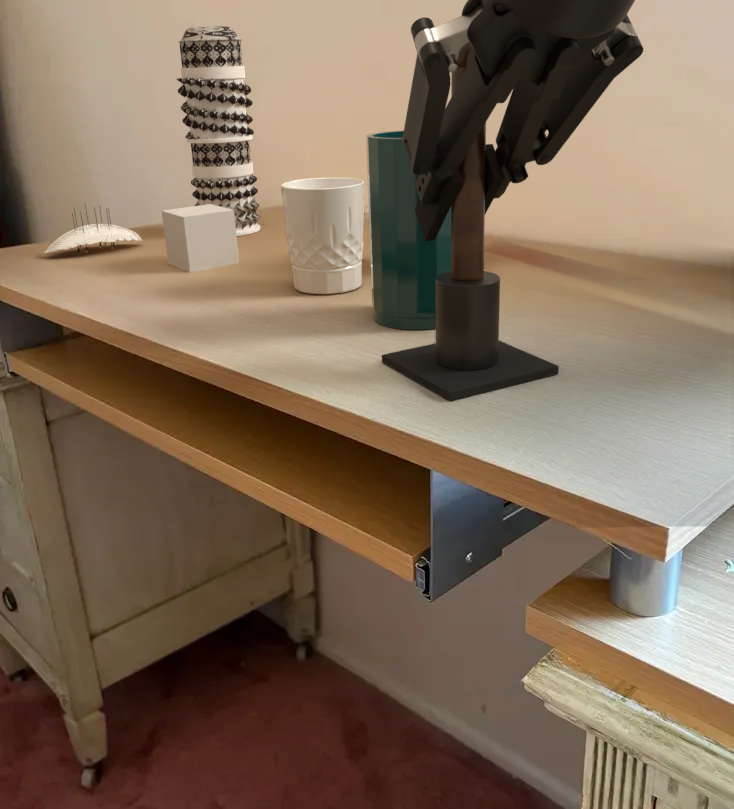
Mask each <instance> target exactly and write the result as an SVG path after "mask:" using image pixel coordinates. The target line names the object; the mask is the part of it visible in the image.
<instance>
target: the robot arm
mask: <svg viewBox="0 0 734 809" xmlns="http://www.w3.org/2000/svg"><path fill="white" fill-rule="evenodd" d="M635 1H636V0H467V1H466V2H465V4H464V6H463V7H462V10H461V16H458V17H455V18H454V19H450V20H448V21H445V22H444V23H440V24H439V25H436V26H435V24H434V21H433V19H431V18H429V17H426V16H424V17H420V18H418V19H416V20H415V21H414V22H413V23H412V24H411V27H410V33H411V36H412V39H413V43H414V46H415V50H416V58H415V65H414V70H413V75H412V82H411V87H410V93H409V99H408V104H407V108H406V116H405V120H404V121H405V122H404V128H403V130H404V132H403V138H402V140H403V144H404V147H405V150H406V153H407V156H408V159H409V162H410V165H411V168H412V171H413V173H414V174H415V175H419V176H418V179H417V181H416V188H417V191H418V194H419V197H420V198H419V200H418V203H417V205H416V207H415V212H416V215H417V219H418V222H419V225H420V228H421V231H422V234H423V237H424V240H425V241H433V240H435V239H436V237H437V235H438V233H439V230H440V228H441V226H442V224H443V222H444V220H445V218H446V216H447V213H448V211H449V209H450V207H451V205H452V203H453V201H454V199H455V196H456V194H457V192H458V190H459V188H460V186H461V184H462V182H463V180H462V177H461V174H460V171H459V168H458V167H459V166H460V164H461V162H462V161H463V159H464V157H465V156H466V154H467V152H468V151H469V149H470V147H471V146H472V144H473V142H474V141H475V139H476V138H477V136H478V134H479V133H480V131H481V129H482V128H483V126H484V124H485V123H486V124H487V121H488V119H489V118H490V116H491V115H492V113H493V111H494V110H495V108H496V106H497V104H504V103H505V102H506V101H507V100H508V98H509V100H508V103H507V106H506V109H505V112H504V115H503V117H502V120H501V123H500V126H499V129H498V132H497V135H496V138H495V143H496V144H495V145H496V149H495V147H494V146H495V145H494V144H493V143H486V163H485V215H486V214H487V212H488V210H489V208H490V206H491V204H492V203H493V201H494V200H495V199H500V198H501V197H503V195H504V194H505V192H507V189H508V188H509V185H510V184H511V183H512V184H520V183H522V182H525V181H526V180H527V179H528V178H529V174H528V171H527V169H526V164H528V163H531V162H535V164H536V165H537V166H545V165H547V164H549V163H551V162H552V161H553V160H554V158H555V157H556V156H557V155H558V153H559V152H560V151H561V149H562V148H563V147H564V145H565V144H566V143H567V141H568V140H569V139H570V137H571V136H573V133H574V132H575V131H576V130H577V128H578V126H579V125H580V124H581V123H582V121H583V120H584V119H585V118H586V116H587V115H588V114H589V112H590V111H591V109H592V108H593V107H594V106H595V105H596V103H597V102H598V100H599V99H600V98H601V96H602V95H603V94H604V93H605V91H606V90H607V89H608V87H609V86H610V84H612V82H613V81H614V80H615V78H616V77H617V76H619V75H620V74H621V73H622V72H624V71H625V70H626V69H627V68H628V67H630V66H631V65H632V64H633V63H635V61H636V60H637V59H639V58H640V57H641V56H642V54H643V52H644V47H643V44H642V43H641V40H640V39H639V36H638V34H637V31H636V30H635V28H634V26H633V24H632V22H631V20H630V18H629V15H628V13H629V11H630V10H631V8H632V7H633V5H634V3H635ZM468 43H470V44H471V46H472V48H471V50H470V52H469V54H468V58H467V69H466V71H465V73H464V75H463V77H462V78H461V80H460V82H459V84H458V86H457V88H456V90H455V91H454V93H453V95H452V97H451V96H450V95H449V94H450V89H451V72H454V71H456V70H457V68H458V65H457V62H456V61H457V60H458V59H459V56H460V51H461V49H462V48H463V47H464V46H465V45H466V44H468ZM449 96H450V99H449ZM509 96H510V97H509ZM448 99H449V100H448ZM447 102H448V103H447ZM546 132H548V133H547V134H546Z"/></svg>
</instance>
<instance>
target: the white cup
mask: <svg viewBox="0 0 734 809" xmlns="http://www.w3.org/2000/svg"><path fill="white" fill-rule="evenodd" d="M280 190H281V198H282V208H283V217H284V224H285V234H286V242H287V248H288V256H289V260H290V263H291V272H292V280H293V288H294V289H295V290H296V291H298V292H300V293H304V294H310V295H334V294H343V293H347V292H352V291H355V290H357V289H359V288H360V287H361V286H362V283H363V281H362V280H363V279H362V278H363V274H362V270H363V269H362V267H363V261H362V260H363V258H364V240H365V239H364V231H365V181H364V180H363V179H361V178H356V177H345V176H344V177H343V176H342V177H341V176H339V177H338V176H334V177H333V176H329V177H328V176H327V177H310V178H300V179H293V180H289V181H285V182H283V183H281V184H280Z"/></svg>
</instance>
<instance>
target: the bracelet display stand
mask: <svg viewBox="0 0 734 809" xmlns="http://www.w3.org/2000/svg"><path fill="white" fill-rule="evenodd" d="M178 43H179V52H180V60H181V68H180V74H181V77H178V78H176V81H177V82H179V83H181V86H180V87H179V88H178V89H177V93H178V94H179V95H180V96H182V97H183V98H186V100H185V101H184V102H183V103H182V105H181V106H180V110H181V111H182V112H183V113H184V114H186V115H185V116H184V117H183V118H182V121H181V122H182V123H183V124H184V125H185V126H186V127H187V128H189V129H190V130H189V131H188V132H187V133H186V135H185V139H186V142H187V143H188V144H190V149H191V159H192V164H191V170H192V177H194V178H193V179H191V180H190V184H191V185H192V186H193V187H195V188H196V189H195V190H194V191H193V192H192V194H191V196H192V197H193V198H195V199H196V200H197V201H196V203H195V204H194V206H200V205H207V204H212V205H216V206H220V207H224V208H228V209H232V210H234V214H235V224H236V234H237V237H240V236H246V235H251V234H255V233H258V232H259V231H260V230H261V225H260V224H258V222H259V220H260V219H261V215H260V213H258V209H259V208H260V203H259V201H257V199H256V198H255V195H257V194H258V192H259V190H258V188H256V187H255V186H253V185H254V184H255V183H256V182H257V181H258V177H257V176H256V175H254V163H253V161H252V159H251V147H250V141H251V140H253V139H254V138H253V137H254V136H253V135H254V134H255V131H254V130H253V128H251V127H249V124H251V123H252V122H253V120H254V119H253V117H252V116H251V115H249V114H248V113H247V109H249V108H250V107H251V106H252V105H253V103H254V102H253V101H252V100H251V99H250V98H248V95H249V94H251V93H252V88H251V87H250V85H248V84H247V83H246V82H245V83H244V79H245V78H246V67H245V65H244V64H243V60H242V58H243V52H242V48H241V47H242V39H241V38H240V37H239V36H238V34H237V32H236V31H235V30H234V28H233V27H230V26H226V25H225V26H224V25H221V26H219V25H216V26H215V25H214V26H194V27H193V26H192V27H189V28H187V29H185V31H184V32H183V35H182V37H181V39H180V41H178Z"/></svg>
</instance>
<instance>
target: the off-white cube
mask: <svg viewBox="0 0 734 809" xmlns="http://www.w3.org/2000/svg"><path fill="white" fill-rule="evenodd" d="M161 218H162V225H163V226H162V227H163V234H164V240H165V242H164V243H165V248H166V249H165V250H166V255H167V256H166V257H167V263H168V264H169V265H170V266H174V267H175V268H177V269H181V270H183V271H186V272H188V273H195V272H201V271H206V270H212V269H219V268H224V267H229V266H234V265H239V264H240V258H239V257H240V256H239V247H238V236H237V234H236V224H235V214H234V210H232V209H228V208H224V207H220V206H216V205H212V204H207V205H200V206H195V205H192V206H185V207H179V208H172V209H165V210H163V209H162V210H161Z"/></svg>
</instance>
